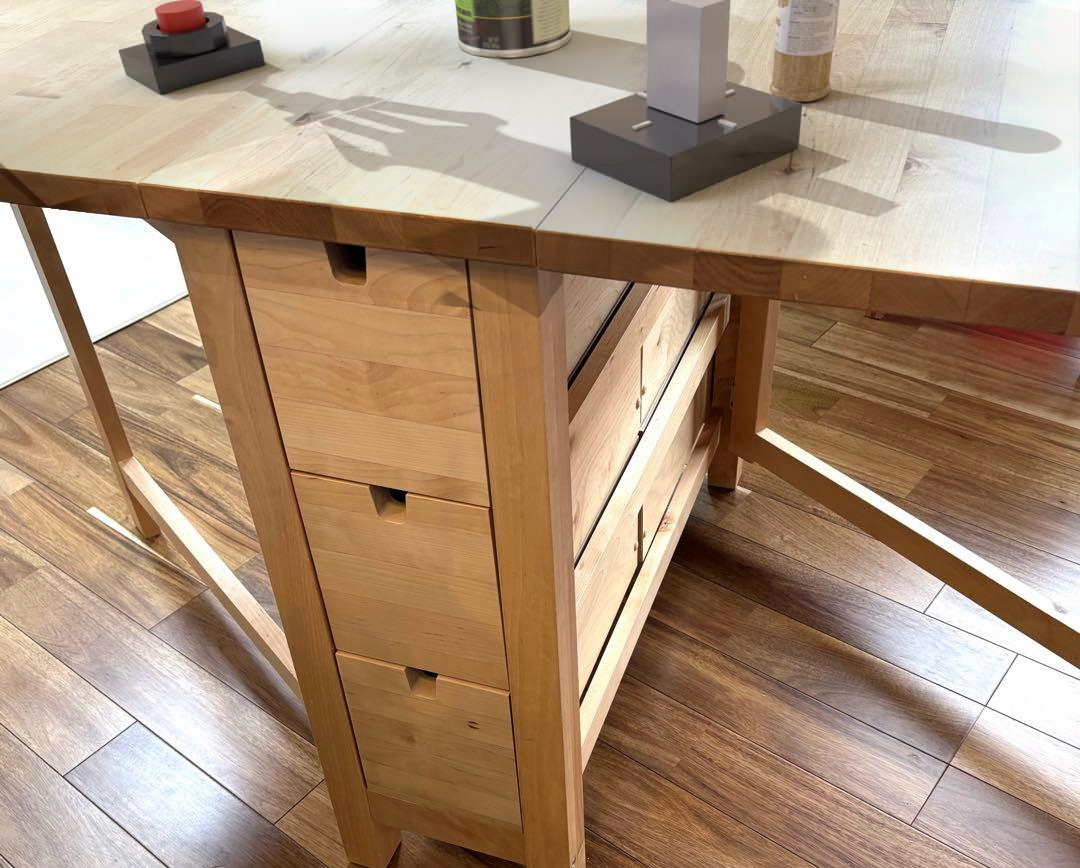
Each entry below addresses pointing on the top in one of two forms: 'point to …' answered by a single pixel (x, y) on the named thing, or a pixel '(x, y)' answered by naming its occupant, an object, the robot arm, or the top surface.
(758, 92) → the dark grey flat block
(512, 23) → the coffee can
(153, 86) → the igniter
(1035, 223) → the top surface
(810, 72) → the sprinkles bottle
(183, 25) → the ignition button
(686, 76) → the light grey upright block
